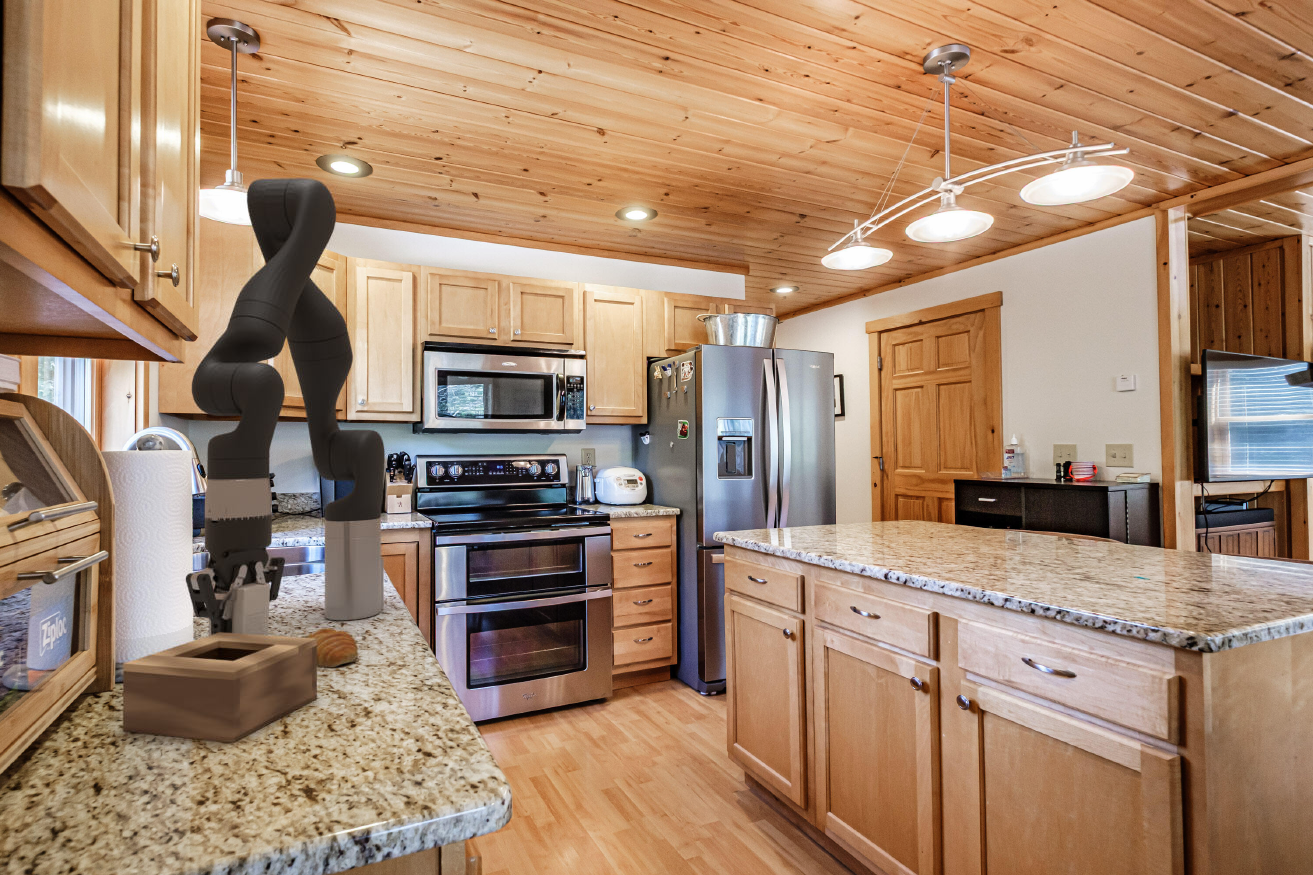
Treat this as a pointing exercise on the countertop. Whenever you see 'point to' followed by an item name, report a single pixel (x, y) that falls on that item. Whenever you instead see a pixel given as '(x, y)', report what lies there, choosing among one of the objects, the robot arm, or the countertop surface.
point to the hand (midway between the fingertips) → (238, 641)
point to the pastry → (334, 647)
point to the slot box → (219, 686)
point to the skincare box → (250, 609)
